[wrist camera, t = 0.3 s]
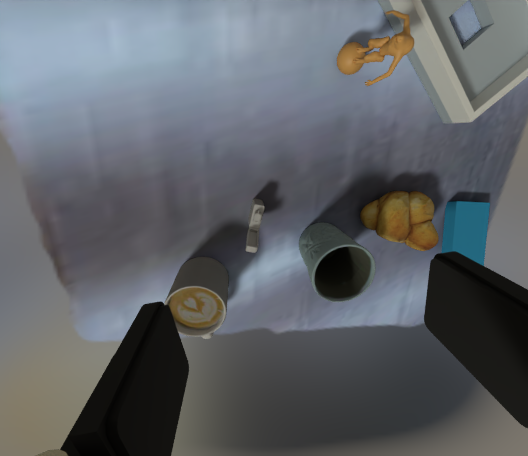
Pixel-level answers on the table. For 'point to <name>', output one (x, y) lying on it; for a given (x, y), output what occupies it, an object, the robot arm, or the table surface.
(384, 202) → the bread roll
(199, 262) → the coffee mug
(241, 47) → the table surface
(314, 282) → the green cup
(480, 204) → the lever
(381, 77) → the figurine
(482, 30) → the tray
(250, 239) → the lighter
